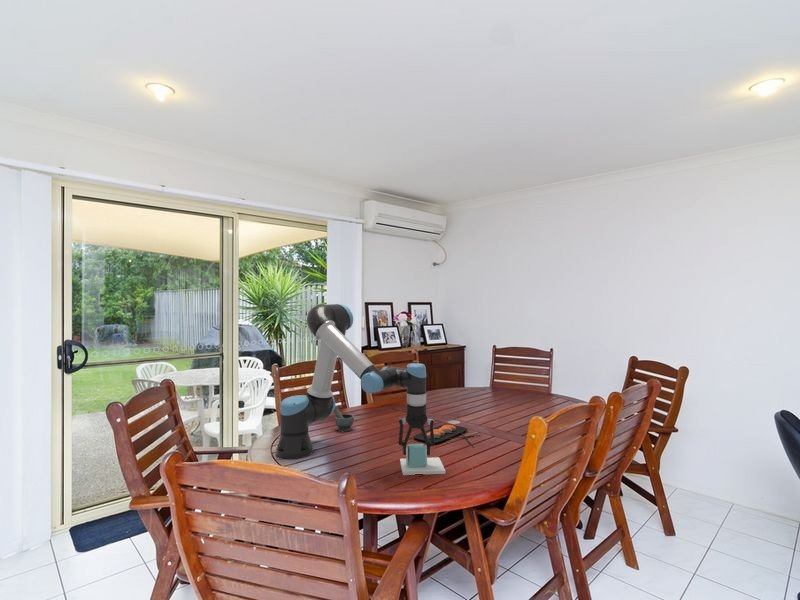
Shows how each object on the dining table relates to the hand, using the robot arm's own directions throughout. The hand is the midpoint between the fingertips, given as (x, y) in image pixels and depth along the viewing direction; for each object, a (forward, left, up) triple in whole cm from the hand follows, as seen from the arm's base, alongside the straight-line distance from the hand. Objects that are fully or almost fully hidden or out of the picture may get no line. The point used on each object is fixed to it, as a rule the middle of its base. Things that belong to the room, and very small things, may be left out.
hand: (416, 463), depth 173 cm
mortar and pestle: (-31, +53, -2) cm, 61 cm away
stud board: (+2, 0, -2) cm, 3 cm away
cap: (0, 0, 0) cm, 0 cm away
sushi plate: (+22, +35, -3) cm, 41 cm away
